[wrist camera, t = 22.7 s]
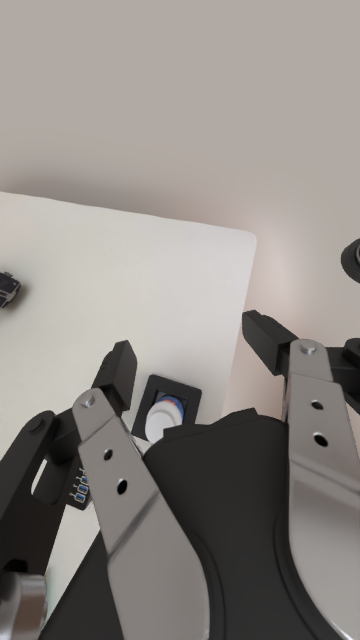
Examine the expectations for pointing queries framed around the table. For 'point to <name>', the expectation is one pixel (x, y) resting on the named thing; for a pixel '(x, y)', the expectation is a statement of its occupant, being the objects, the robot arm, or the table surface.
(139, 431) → the holder pad
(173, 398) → the pill bottle
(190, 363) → the table surface
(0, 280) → the camera
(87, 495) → the multiport hub
